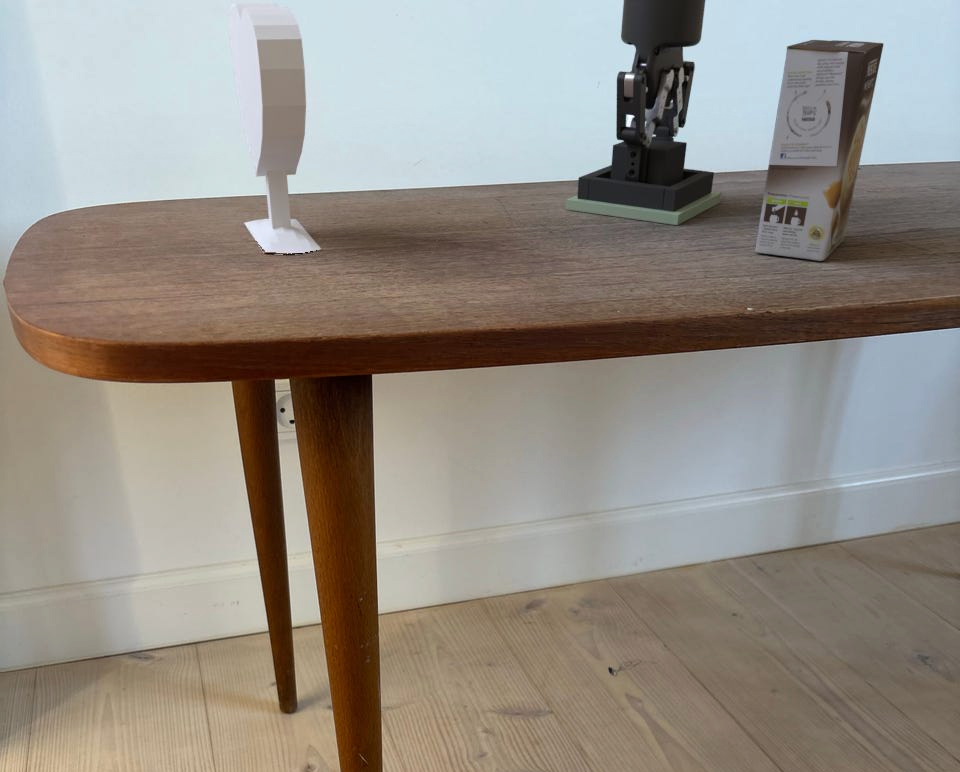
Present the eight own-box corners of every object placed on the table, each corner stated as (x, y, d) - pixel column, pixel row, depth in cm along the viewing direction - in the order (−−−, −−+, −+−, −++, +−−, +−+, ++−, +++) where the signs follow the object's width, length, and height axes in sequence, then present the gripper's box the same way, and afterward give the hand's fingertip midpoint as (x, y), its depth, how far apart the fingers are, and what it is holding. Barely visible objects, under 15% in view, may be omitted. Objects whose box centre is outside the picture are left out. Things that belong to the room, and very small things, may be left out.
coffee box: (826, 263, 91) (867, 50, 81) (752, 253, 93) (784, 45, 84) (845, 239, 97) (885, 41, 88) (776, 231, 100) (808, 37, 91)
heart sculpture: (326, 255, 91) (310, 12, 80) (268, 259, 89) (244, 12, 79) (292, 214, 103) (275, -1, 92) (240, 218, 101) (217, -1, 91)
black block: (682, 185, 108) (687, 142, 105) (661, 194, 104) (665, 150, 101) (631, 178, 110) (635, 137, 108) (609, 188, 106) (612, 144, 104)
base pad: (720, 202, 110) (724, 171, 108) (677, 225, 101) (681, 192, 99) (615, 188, 115) (617, 159, 113) (565, 209, 106) (567, 177, 104)
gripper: (674, -10, 90) (654, 199, 100) (730, -16, 101) (707, 174, 110) (595, -14, 93) (582, 189, 103) (657, -19, 104) (640, 166, 113)
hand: (647, 180), depth 107 cm, fingers closed on black block, 5 cm apart
